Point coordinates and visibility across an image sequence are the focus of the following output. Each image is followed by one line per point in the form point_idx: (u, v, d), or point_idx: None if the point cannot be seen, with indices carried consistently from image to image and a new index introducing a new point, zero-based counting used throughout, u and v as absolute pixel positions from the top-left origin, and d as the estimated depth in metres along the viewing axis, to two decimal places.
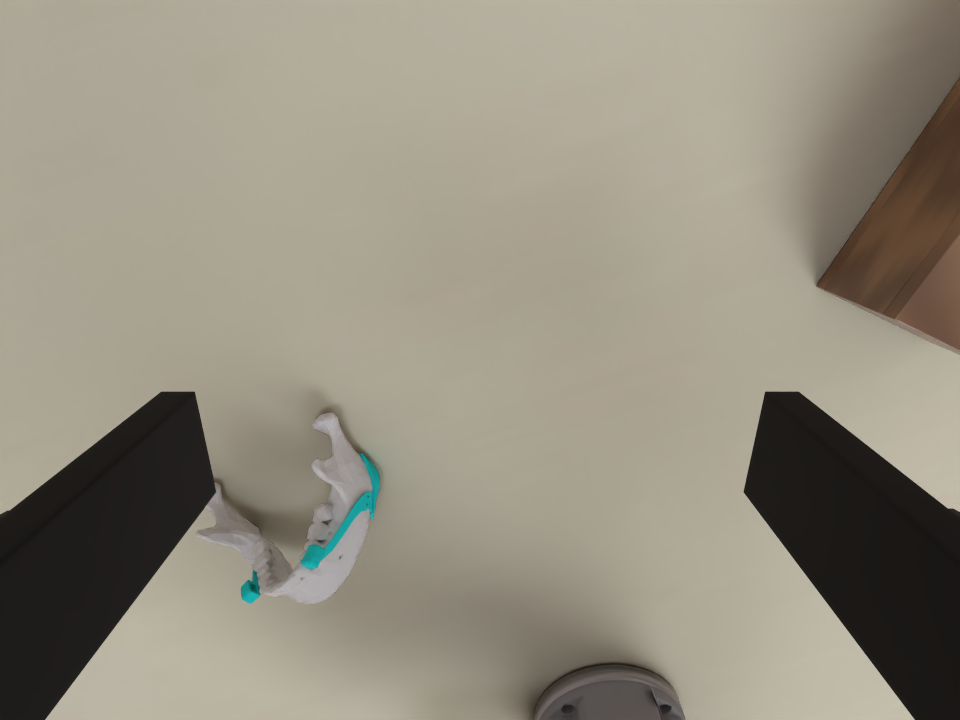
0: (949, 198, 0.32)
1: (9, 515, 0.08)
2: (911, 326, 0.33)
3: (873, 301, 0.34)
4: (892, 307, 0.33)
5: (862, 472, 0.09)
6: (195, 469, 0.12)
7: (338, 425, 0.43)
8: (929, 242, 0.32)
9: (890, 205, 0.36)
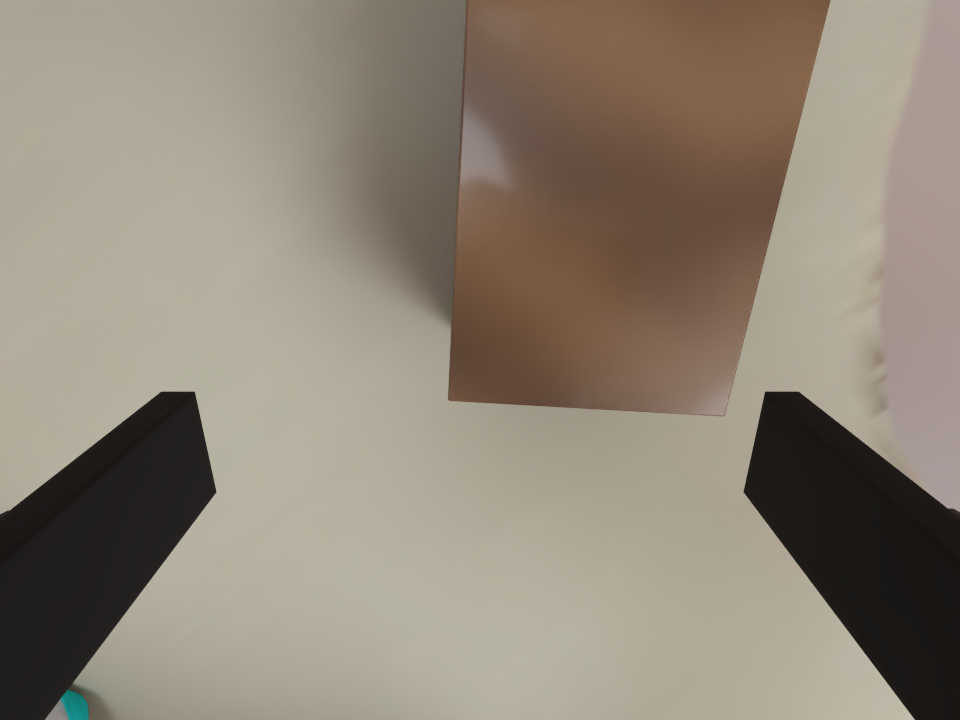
0: None
1: (8, 515, 0.08)
2: (481, 401, 0.20)
3: None
4: None
5: (862, 472, 0.09)
6: (195, 469, 0.12)
7: None
8: None
9: None
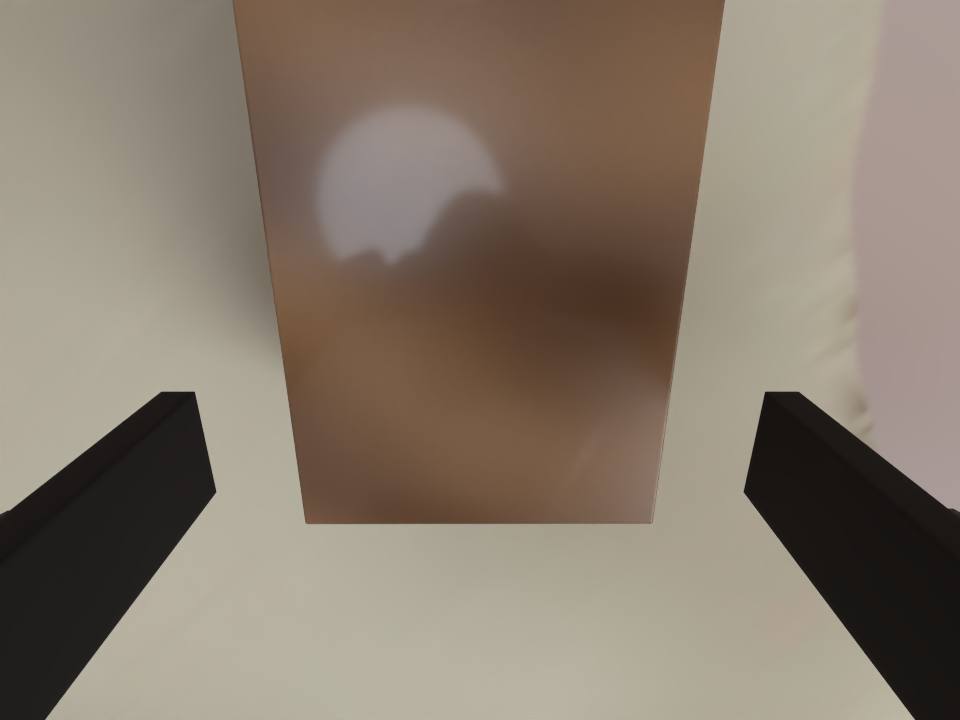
0: None
1: (8, 515, 0.08)
2: (346, 522, 0.16)
3: None
4: None
5: (862, 472, 0.09)
6: (195, 469, 0.12)
7: None
8: None
9: None
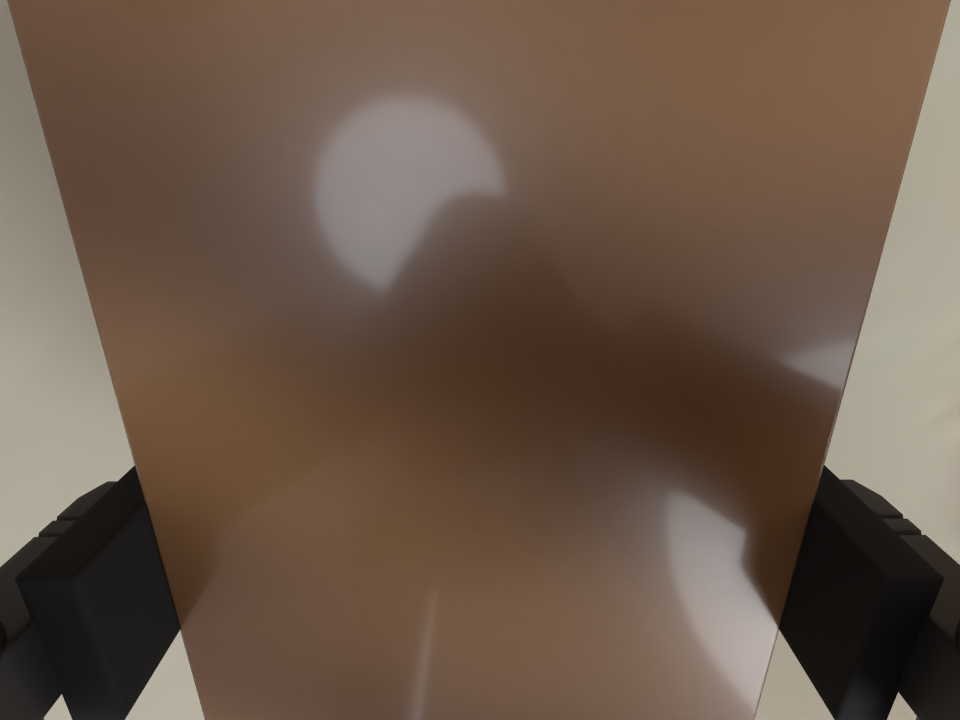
0: None
1: (120, 482, 0.09)
2: None
3: None
4: None
5: None
6: None
7: None
8: None
9: None
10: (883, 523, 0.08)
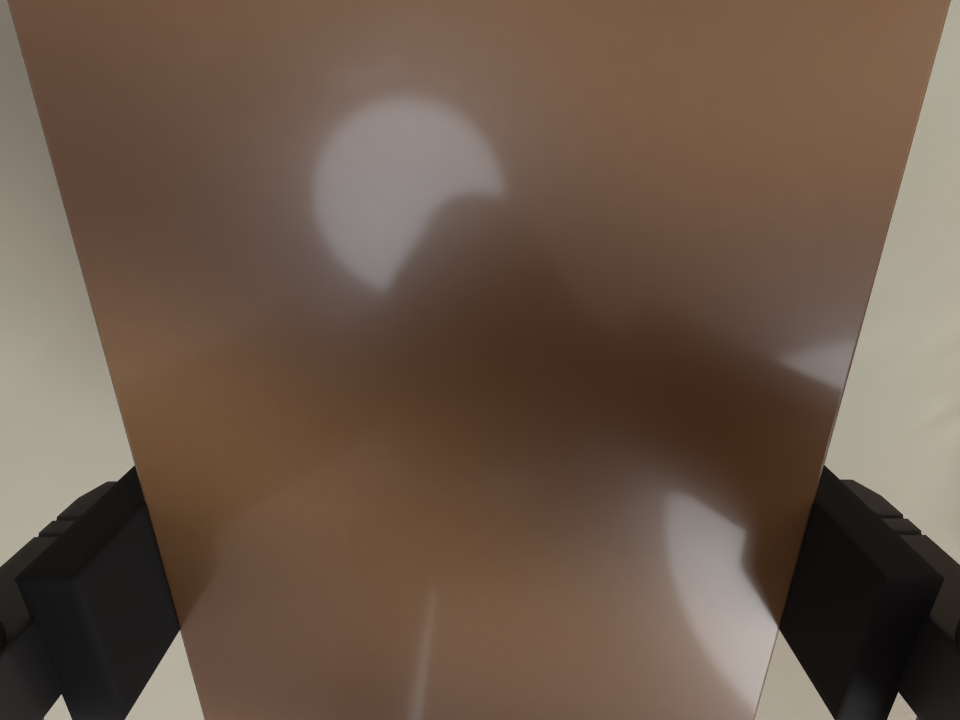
0: None
1: (120, 482, 0.09)
2: None
3: None
4: None
5: None
6: None
7: None
8: None
9: None
10: (883, 523, 0.08)
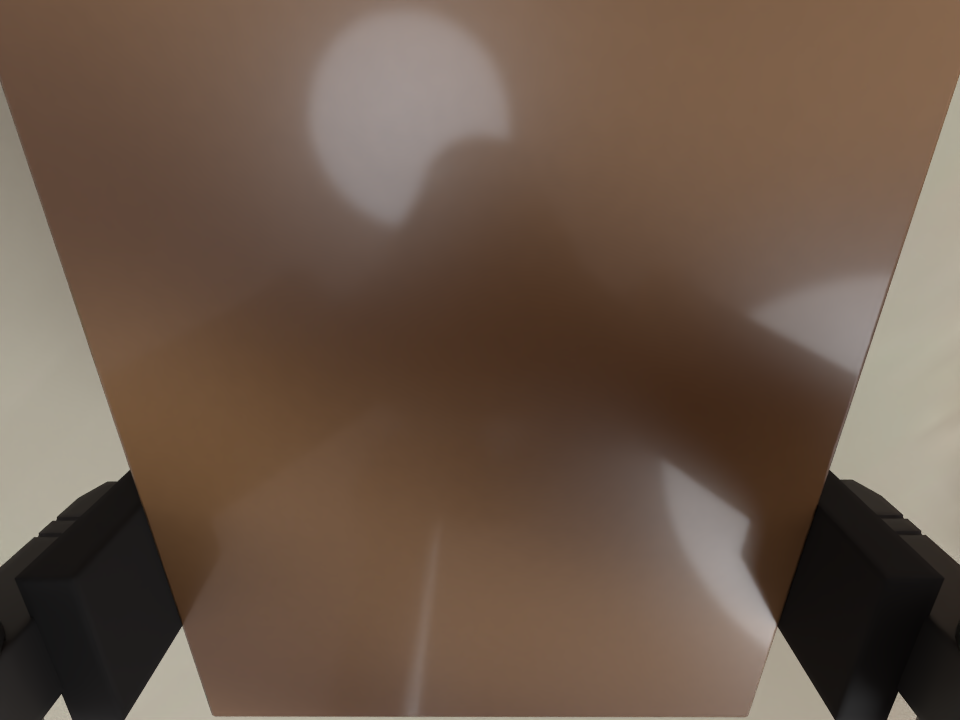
0: None
1: (120, 482, 0.09)
2: (275, 714, 0.11)
3: None
4: None
5: None
6: None
7: None
8: None
9: None
10: (883, 523, 0.08)
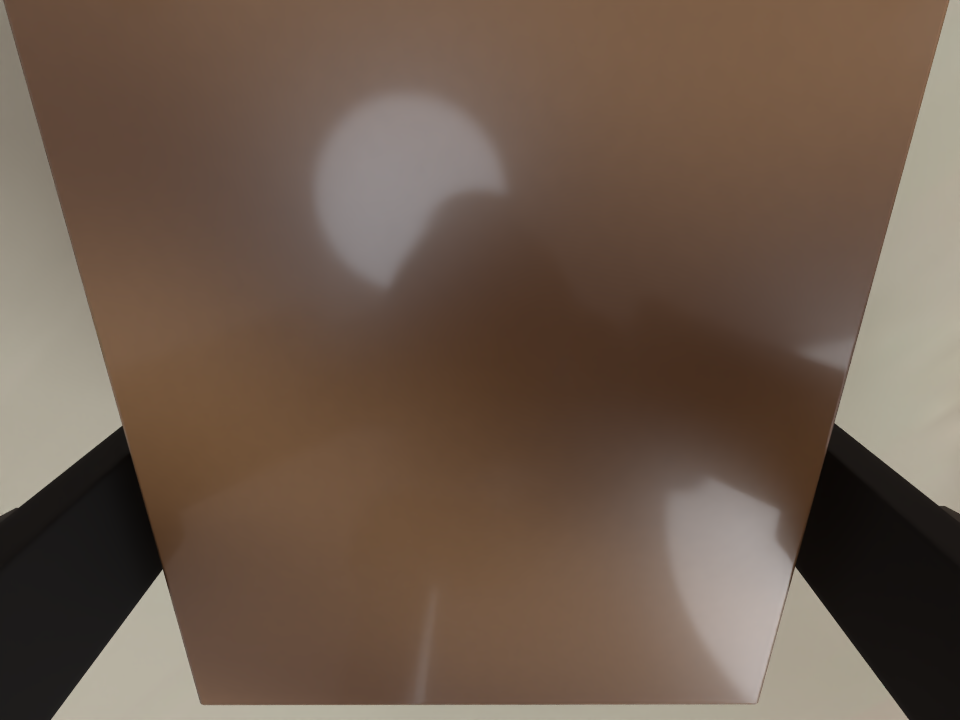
0: None
1: (18, 513, 0.08)
2: (266, 702, 0.10)
3: None
4: None
5: (855, 470, 0.09)
6: None
7: None
8: None
9: None
10: None
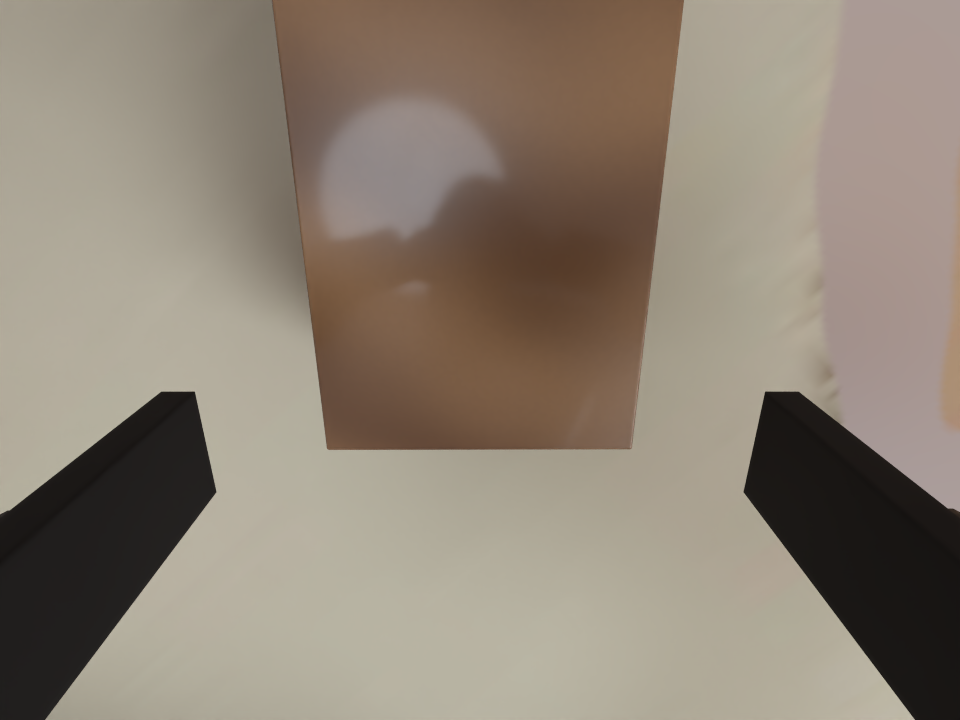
0: None
1: (8, 515, 0.08)
2: (363, 447, 0.19)
3: None
4: None
5: (862, 472, 0.09)
6: (195, 468, 0.12)
7: None
8: None
9: None
10: None
